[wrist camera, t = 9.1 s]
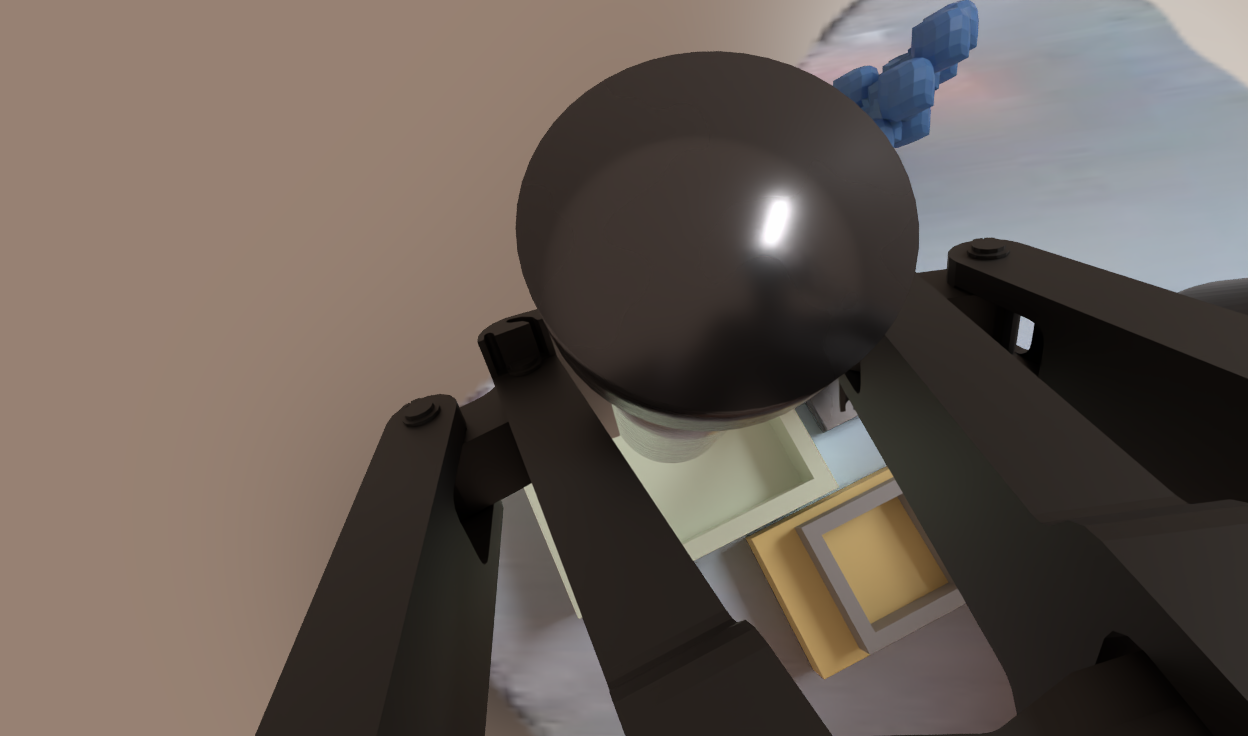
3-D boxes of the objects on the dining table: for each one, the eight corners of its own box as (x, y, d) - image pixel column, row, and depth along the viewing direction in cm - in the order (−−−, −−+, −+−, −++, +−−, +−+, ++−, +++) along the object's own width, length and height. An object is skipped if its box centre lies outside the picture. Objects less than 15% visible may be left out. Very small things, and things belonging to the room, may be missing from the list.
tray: (720, 313, 38) (727, 292, 34) (820, 490, 34) (839, 487, 31) (503, 414, 36) (488, 404, 33) (585, 609, 33) (578, 619, 30)
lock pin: (701, 311, 20) (787, 0, 8) (772, 439, 19) (1003, 297, 7) (571, 372, 20) (457, 141, 8) (635, 508, 19) (621, 486, 6)
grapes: (848, 88, 42) (926, -76, 31) (929, 132, 41) (1041, -21, 29) (763, 198, 40) (812, 67, 28) (845, 249, 39) (931, 133, 27)
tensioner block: (914, 451, 35) (944, 444, 31) (991, 574, 33) (1031, 580, 29) (745, 537, 34) (756, 539, 30) (813, 669, 32) (833, 687, 28)
